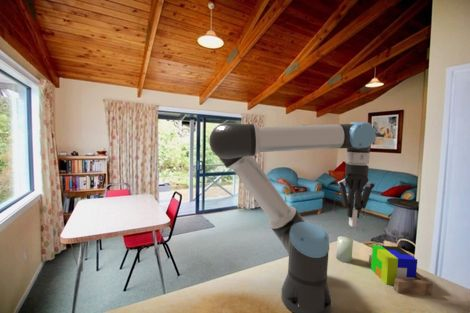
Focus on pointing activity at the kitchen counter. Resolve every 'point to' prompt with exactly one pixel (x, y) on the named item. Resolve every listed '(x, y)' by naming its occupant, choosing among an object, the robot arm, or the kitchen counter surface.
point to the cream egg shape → (344, 249)
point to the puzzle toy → (392, 264)
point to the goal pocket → (411, 284)
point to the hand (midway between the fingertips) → (352, 225)
